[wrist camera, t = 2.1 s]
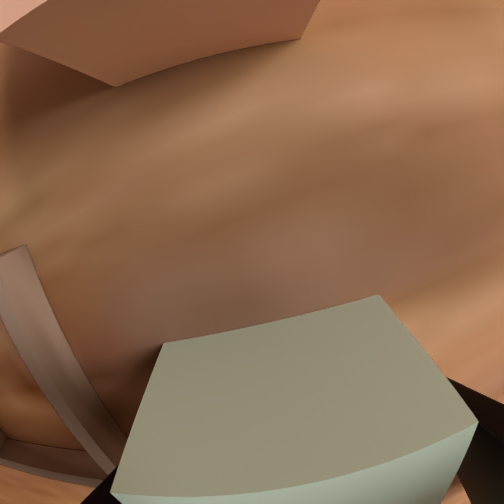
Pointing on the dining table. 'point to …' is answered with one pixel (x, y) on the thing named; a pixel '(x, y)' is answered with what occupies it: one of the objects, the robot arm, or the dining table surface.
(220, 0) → the terracotta cube
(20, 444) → the walnut frame
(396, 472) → the sage block
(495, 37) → the dining table surface
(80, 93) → the dining table surface
